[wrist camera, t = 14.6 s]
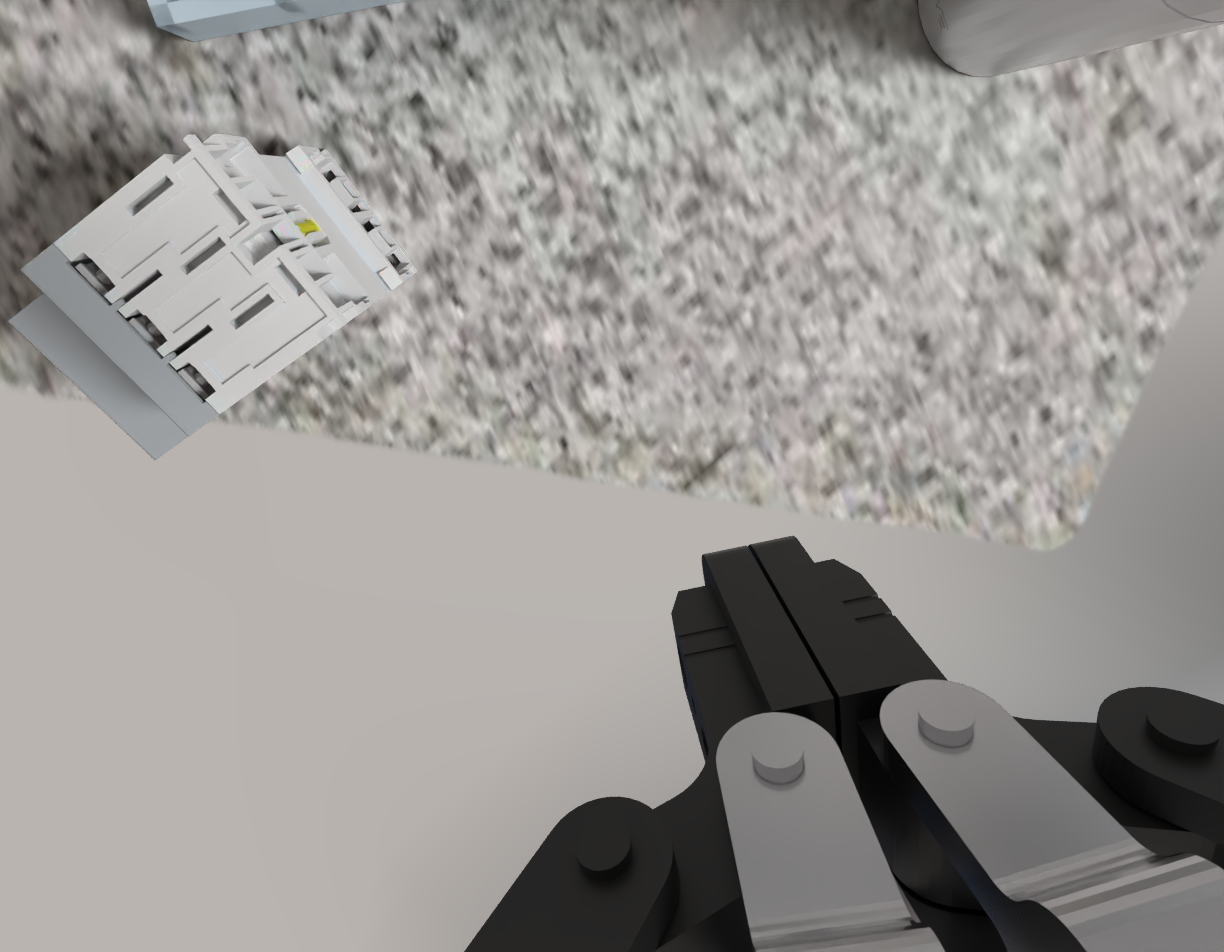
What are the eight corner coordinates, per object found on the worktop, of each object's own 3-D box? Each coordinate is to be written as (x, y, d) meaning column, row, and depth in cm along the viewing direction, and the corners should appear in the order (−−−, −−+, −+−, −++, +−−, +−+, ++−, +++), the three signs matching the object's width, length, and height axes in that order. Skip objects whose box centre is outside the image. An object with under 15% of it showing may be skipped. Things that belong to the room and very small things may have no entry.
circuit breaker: (130, 300, 38) (-103, 367, 24) (326, 149, 36) (194, 129, 22) (230, 405, 41) (74, 518, 27) (417, 271, 39) (350, 320, 25)
